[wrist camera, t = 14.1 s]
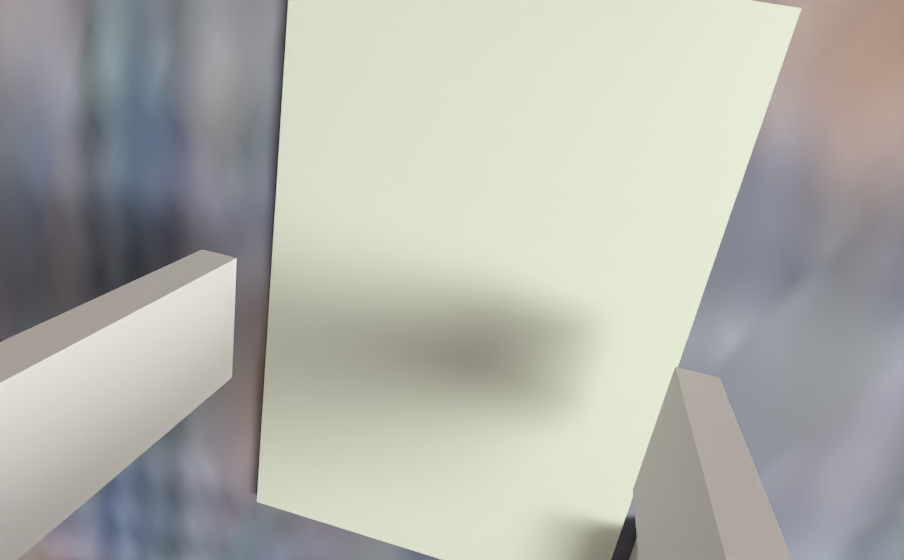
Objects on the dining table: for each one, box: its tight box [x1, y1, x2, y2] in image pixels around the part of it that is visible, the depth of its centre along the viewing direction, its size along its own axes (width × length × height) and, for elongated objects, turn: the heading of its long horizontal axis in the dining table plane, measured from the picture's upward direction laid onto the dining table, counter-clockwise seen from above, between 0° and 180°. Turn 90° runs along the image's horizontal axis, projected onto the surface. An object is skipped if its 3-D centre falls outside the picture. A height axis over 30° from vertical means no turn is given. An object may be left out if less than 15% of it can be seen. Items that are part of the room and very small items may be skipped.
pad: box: [257, 0, 801, 560], centre depth 15 cm, size 10×15×1 cm, turn 170°
